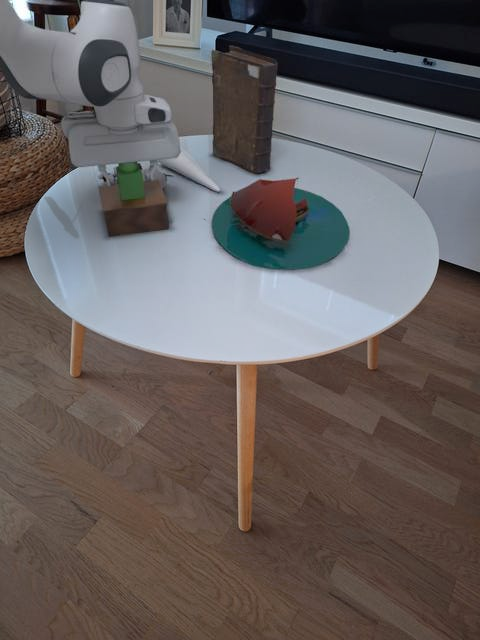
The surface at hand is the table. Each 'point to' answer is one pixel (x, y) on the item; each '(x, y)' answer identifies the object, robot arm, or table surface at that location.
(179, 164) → the long cone
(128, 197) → the green toy
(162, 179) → the robot toy
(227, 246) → the boat on round base
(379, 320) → the table surface
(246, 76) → the book
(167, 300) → the table surface
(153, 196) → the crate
